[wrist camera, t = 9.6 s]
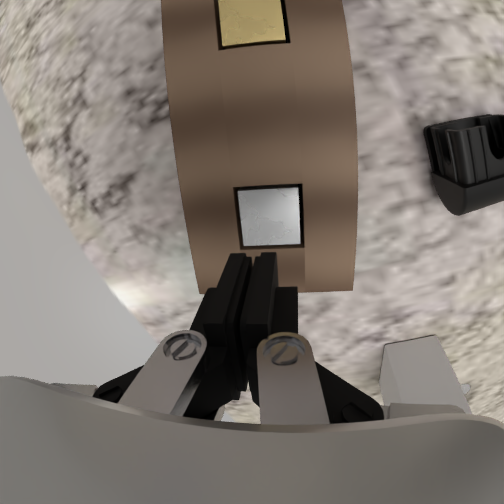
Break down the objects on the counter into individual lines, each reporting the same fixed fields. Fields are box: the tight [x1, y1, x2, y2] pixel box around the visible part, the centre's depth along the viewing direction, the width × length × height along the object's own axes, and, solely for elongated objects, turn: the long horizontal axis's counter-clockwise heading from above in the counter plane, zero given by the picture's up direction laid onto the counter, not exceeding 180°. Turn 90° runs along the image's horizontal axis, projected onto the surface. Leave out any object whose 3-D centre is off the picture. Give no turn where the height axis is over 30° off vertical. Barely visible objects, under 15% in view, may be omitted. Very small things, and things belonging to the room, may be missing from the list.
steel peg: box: [238, 184, 300, 246], centre depth 22 cm, size 4×4×6 cm
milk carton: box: [379, 335, 472, 414], centre depth 23 cm, size 7×7×19 cm
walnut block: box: [161, 0, 358, 294], centre depth 20 cm, size 26×12×6 cm, turn 5°
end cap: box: [424, 114, 504, 216], centre depth 18 cm, size 10×7×7 cm
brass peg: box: [218, 0, 286, 49], centre depth 17 cm, size 4×4×6 cm
